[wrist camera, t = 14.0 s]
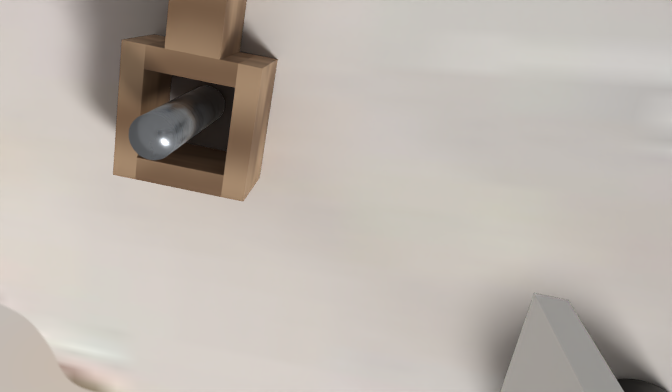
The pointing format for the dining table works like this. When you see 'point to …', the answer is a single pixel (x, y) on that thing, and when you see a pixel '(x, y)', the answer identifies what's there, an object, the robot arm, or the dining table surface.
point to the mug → (638, 386)
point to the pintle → (175, 122)
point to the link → (205, 65)
